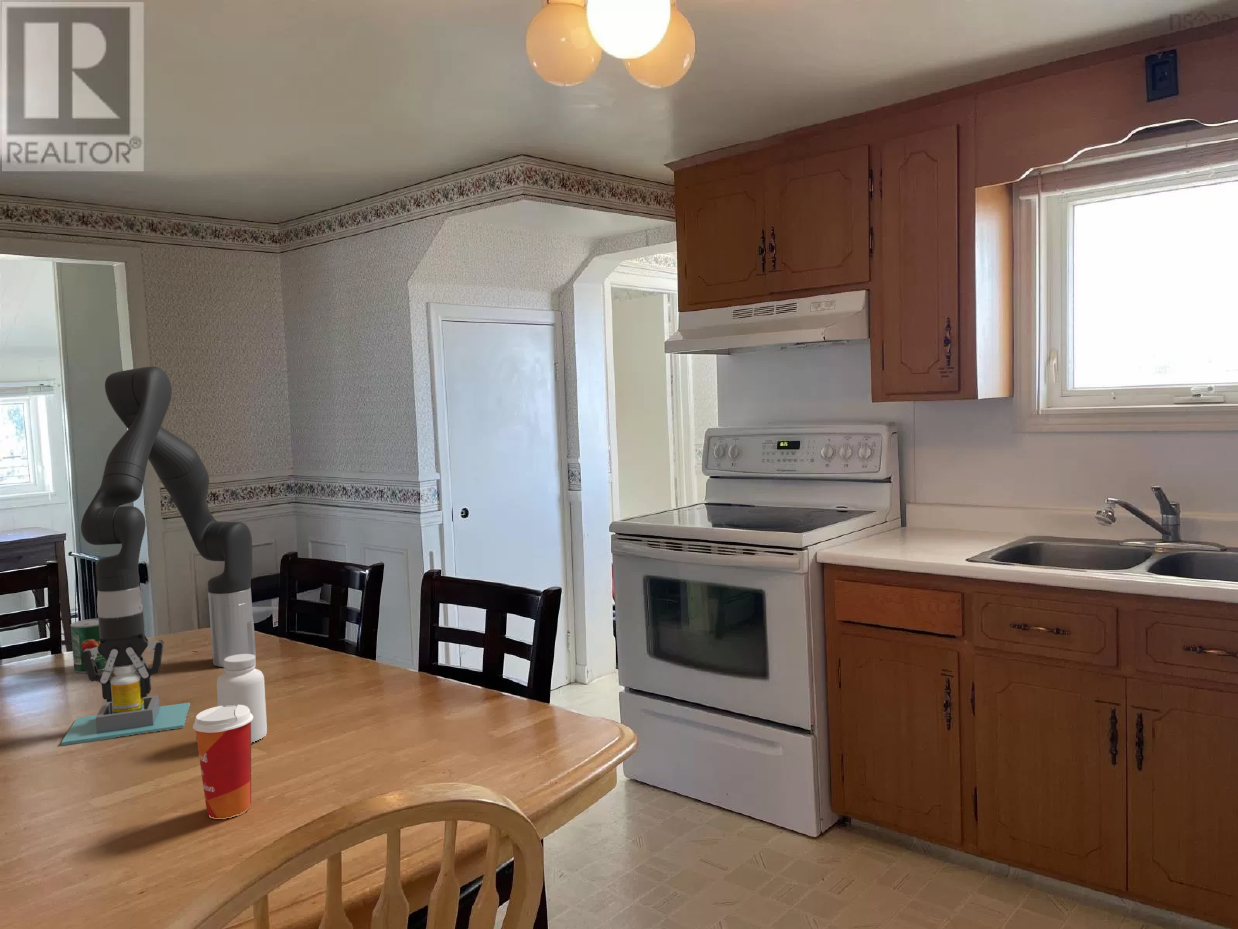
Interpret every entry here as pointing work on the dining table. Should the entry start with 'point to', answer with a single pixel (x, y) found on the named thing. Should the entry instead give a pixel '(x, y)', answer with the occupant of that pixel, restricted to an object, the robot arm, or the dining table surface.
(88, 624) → the canned tomato
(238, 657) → the pill bottle
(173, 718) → the bottle stand
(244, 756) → the coffee cup
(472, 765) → the dining table surface
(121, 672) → the supplement bottle
